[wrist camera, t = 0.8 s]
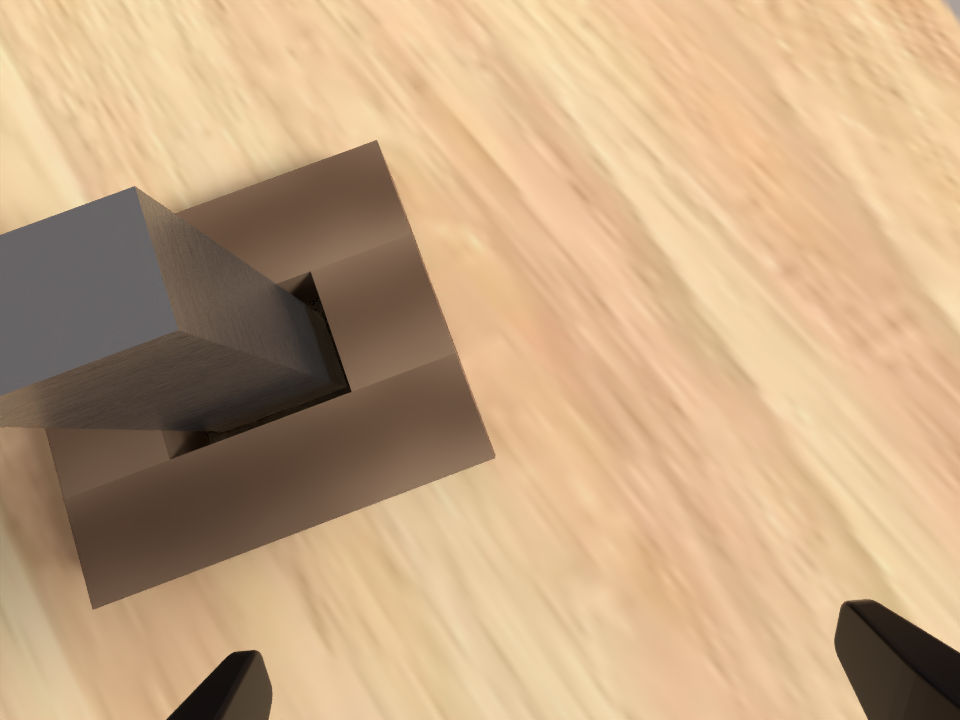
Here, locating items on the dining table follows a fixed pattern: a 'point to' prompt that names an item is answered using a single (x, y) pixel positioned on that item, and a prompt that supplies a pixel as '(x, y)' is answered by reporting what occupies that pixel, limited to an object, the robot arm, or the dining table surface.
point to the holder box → (305, 434)
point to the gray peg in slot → (148, 326)
